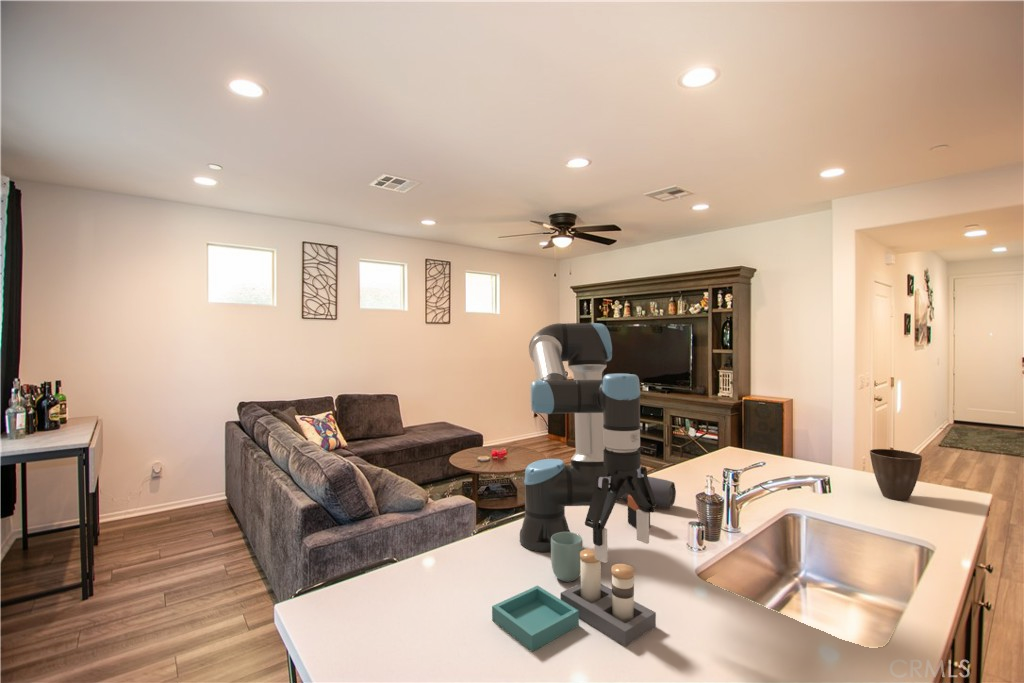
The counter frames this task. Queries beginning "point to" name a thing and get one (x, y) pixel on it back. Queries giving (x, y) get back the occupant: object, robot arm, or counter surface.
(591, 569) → the cylinder
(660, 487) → the bluetooth speaker
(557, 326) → the robot arm
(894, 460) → the plant pot
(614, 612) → the fuse
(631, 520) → the battery
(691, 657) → the counter surface
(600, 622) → the fuse holder
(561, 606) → the parts tray
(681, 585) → the counter surface
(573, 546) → the cup
